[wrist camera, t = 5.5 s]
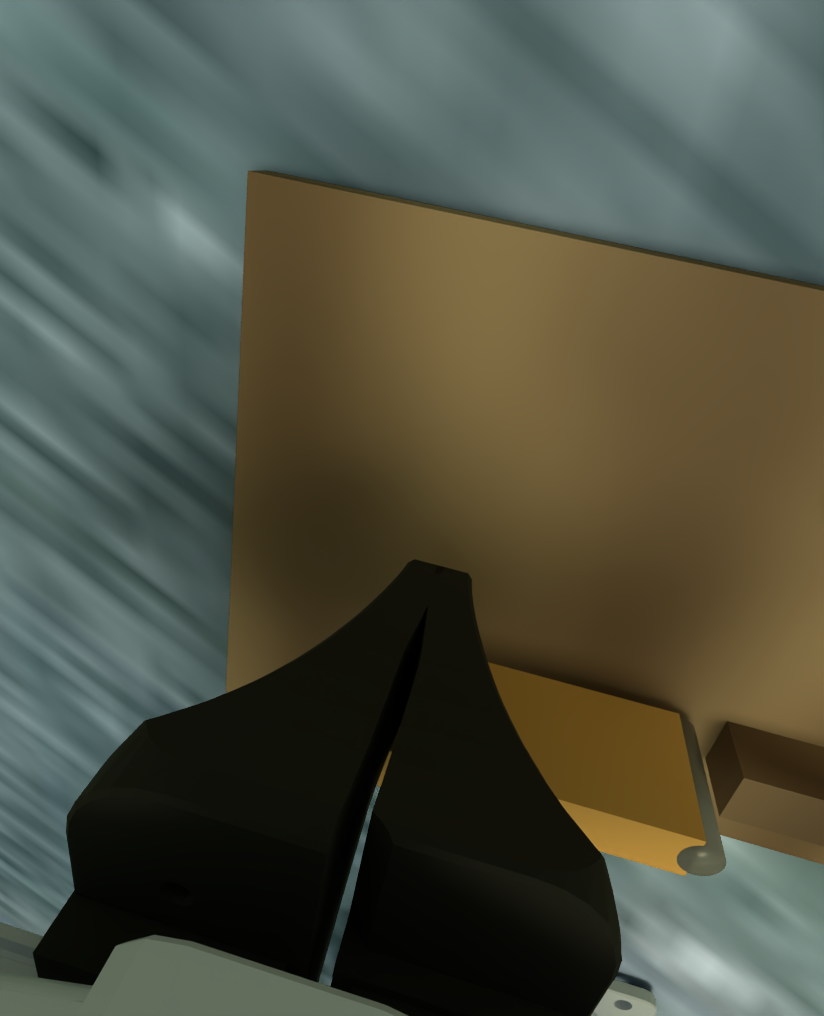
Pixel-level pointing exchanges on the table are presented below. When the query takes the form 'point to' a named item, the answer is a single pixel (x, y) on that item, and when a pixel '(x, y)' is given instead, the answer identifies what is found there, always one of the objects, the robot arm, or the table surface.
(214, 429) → the table surface
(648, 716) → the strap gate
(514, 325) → the cradle
